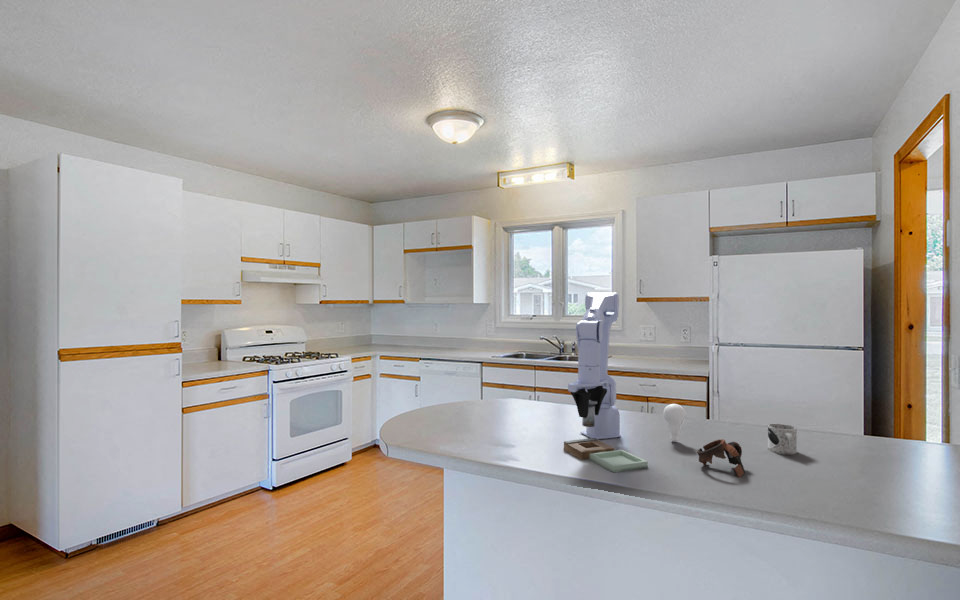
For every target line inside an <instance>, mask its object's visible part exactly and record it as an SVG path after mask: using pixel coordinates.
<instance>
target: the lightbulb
mask: <svg viewBox="0 0 960 600" xmlns="http://www.w3.org/2000/svg"><path fill="white" fill-rule="evenodd" d="M686 417H687V412H686V409H684V406H683V407H682V406H681V405H680V404H677V403H670V404H668V405H666V406H665V407H664V409H663V419H664V421H665V422H666V424H667V428H668V433H669V440H670V441H672V442H673V443H676V442H678V441H680V434H681V430H682V427H683V426H682V425H684V422H685V420H686V419H687V418H686Z"/></svg>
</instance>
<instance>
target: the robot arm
mask: <svg viewBox="0 0 960 600" xmlns="http://www.w3.org/2000/svg"><path fill="white" fill-rule="evenodd" d="M619 298H620V297H619V294H618V292H616V291H615V292H587V293H586V294H585V299H584V305H585V306H584V307H585V312H584V315H583V317H582V319H581V320H580V321H579V322H577V323H576V327H575V336H576V347H577V349H578V350H577V351H578V353H577V354H578V355H577V356H578V359H577V361H578V364H577V365H578V366H577V367H578V369H577V372H578V375H577V378H578V379H575V381H574V382H572V383H568V384H567V391H568V392H570V395H571V396H572V398H573V400H574V402H575V405H576V409H577V413H578V417H580V418H587V414H588V404H589V399H594V400H597V404H596V405H595V426H594V427H585V428H586V430H582V431H580V434H582V435H584V436H586V437H588V438H597V439H598V440H605V439H612V438H621V437H622V435H621V433H620V432H621V431H620V429H621V428H620V423H621V417H620V415H621V414H620V411H619V409H618V407H617V406H616V403H617V383H616V380H615V379H614V378H613V377H611V375H609V374H608V370H609V369H608V365H609V349H610V348H609V347H610V331H611V328H612V324H613V323H615V322H617V321H618V318H619V307H620V299H619Z"/></svg>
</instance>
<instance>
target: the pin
mask: <svg viewBox="0 0 960 600" xmlns="http://www.w3.org/2000/svg"><path fill="white" fill-rule="evenodd" d="M596 404H597V400H594V399H589V404H588V414H587V418H583V417H581V419H582V421H581V423H582V427H585V428H586V427H594V426H595V405H596Z"/></svg>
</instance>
